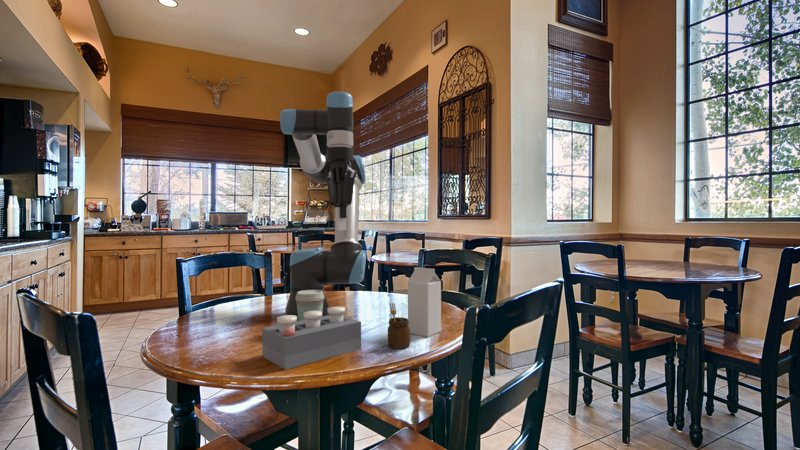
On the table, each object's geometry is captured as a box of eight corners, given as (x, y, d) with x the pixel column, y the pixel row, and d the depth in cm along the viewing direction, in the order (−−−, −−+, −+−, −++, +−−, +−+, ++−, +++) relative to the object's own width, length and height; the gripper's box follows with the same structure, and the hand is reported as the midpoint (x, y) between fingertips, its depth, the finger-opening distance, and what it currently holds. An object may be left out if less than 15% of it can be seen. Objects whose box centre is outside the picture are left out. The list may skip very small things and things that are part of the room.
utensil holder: (414, 344, 107) (413, 299, 106) (402, 351, 101) (401, 304, 101) (395, 341, 110) (394, 297, 109) (382, 347, 104) (382, 301, 104)
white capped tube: (273, 346, 96) (273, 317, 96) (291, 342, 99) (291, 314, 99) (282, 351, 93) (282, 320, 92) (300, 346, 96) (300, 317, 96)
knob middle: (300, 340, 101) (300, 312, 101) (316, 336, 104) (316, 309, 104) (309, 344, 97) (309, 315, 97) (325, 340, 100) (325, 312, 100)
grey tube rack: (262, 356, 98) (262, 323, 98) (335, 338, 112) (335, 309, 112) (285, 369, 89) (285, 333, 89) (361, 348, 103) (361, 317, 103)
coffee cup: (318, 336, 114) (317, 294, 114) (290, 335, 116) (289, 294, 116) (329, 328, 122) (328, 289, 122) (303, 327, 124) (302, 288, 124)
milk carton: (428, 337, 113) (427, 270, 113) (407, 333, 117) (407, 268, 117) (441, 331, 118) (441, 267, 118) (421, 328, 123) (421, 266, 122)
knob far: (324, 334, 105) (324, 308, 105) (339, 331, 108) (338, 305, 108) (334, 338, 102) (333, 311, 102) (348, 335, 105) (348, 308, 105)
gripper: (316, 149, 117) (317, 229, 118) (342, 143, 108) (342, 230, 108) (338, 152, 123) (338, 229, 123) (364, 146, 113) (364, 230, 113)
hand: (340, 229), depth 116 cm, fingers closed
